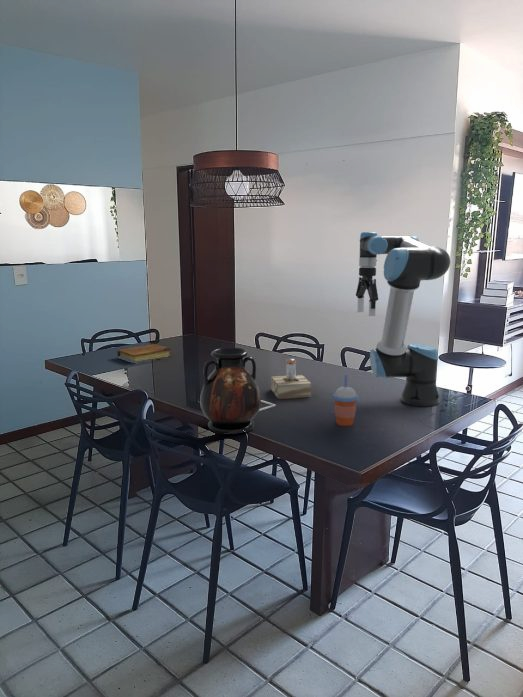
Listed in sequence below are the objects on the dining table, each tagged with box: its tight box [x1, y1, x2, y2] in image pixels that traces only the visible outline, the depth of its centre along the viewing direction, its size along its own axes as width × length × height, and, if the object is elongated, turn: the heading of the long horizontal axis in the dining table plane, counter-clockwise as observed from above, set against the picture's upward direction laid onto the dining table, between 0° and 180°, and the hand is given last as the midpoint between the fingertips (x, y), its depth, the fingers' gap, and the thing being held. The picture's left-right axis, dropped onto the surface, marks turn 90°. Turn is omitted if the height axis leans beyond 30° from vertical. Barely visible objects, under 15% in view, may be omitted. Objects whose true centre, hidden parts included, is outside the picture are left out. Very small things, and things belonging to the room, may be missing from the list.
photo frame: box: [259, 399, 277, 412], centre depth 218 cm, size 15×1×18 cm
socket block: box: [270, 374, 312, 400], centre depth 233 cm, size 14×14×6 cm
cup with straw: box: [332, 374, 359, 427], centre depth 194 cm, size 9×9×18 cm
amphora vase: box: [199, 347, 262, 435], centre depth 189 cm, size 22×22×28 cm
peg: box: [285, 357, 297, 382], centre depth 232 cm, size 4×4×14 cm
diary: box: [116, 343, 171, 362], centre depth 301 cm, size 23×19×6 cm
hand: (366, 314), depth 247 cm, fingers open, 13 cm apart
